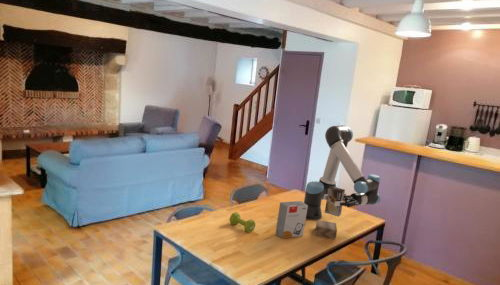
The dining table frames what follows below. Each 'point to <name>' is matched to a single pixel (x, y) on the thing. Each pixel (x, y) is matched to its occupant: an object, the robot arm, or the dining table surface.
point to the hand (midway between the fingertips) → (329, 200)
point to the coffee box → (333, 196)
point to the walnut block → (326, 229)
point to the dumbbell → (242, 222)
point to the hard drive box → (291, 219)
